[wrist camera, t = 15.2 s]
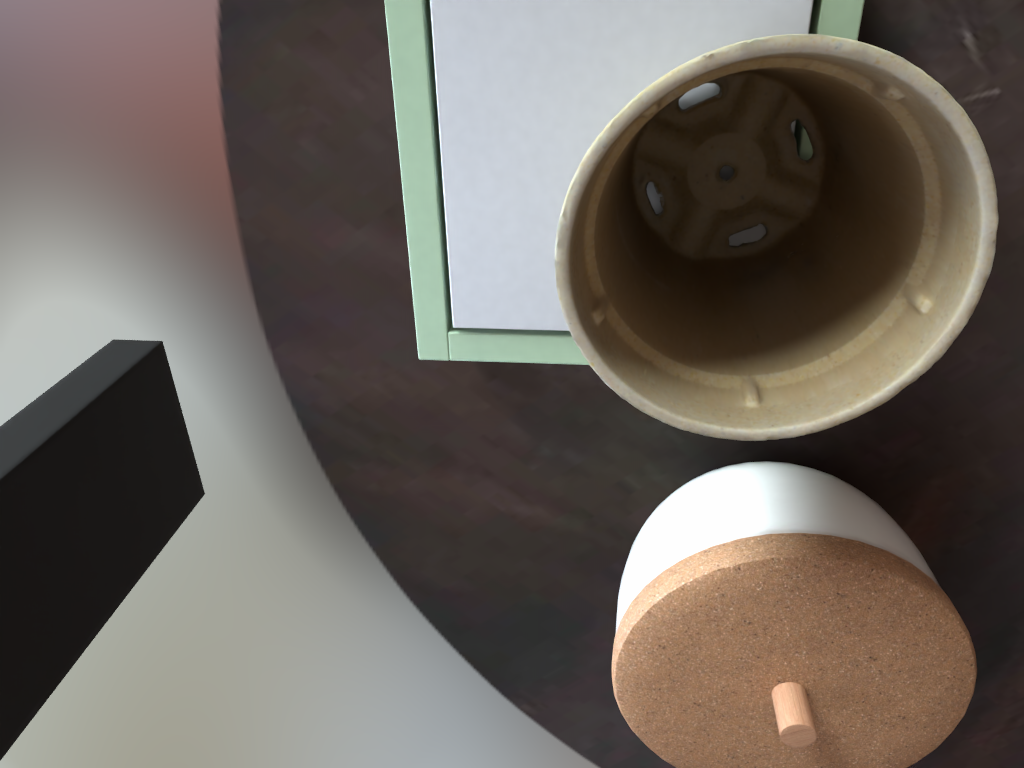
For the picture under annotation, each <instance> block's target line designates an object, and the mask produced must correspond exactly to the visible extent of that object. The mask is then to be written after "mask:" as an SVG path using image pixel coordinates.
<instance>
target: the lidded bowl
mask: <svg viewBox="0 0 1024 768" xmlns="http://www.w3.org/2000/svg"><path fill="white" fill-rule="evenodd" d="M976 677H977V665H976V653H975V650H974V647H973V644H972V640H971V637H970V634H969V632H968V630H967V628H966V626H965V624H964V622H963V620H962V618H961V617H960V615H959V613H958V612H957V610H956V609H955V607H954V605H953V604H952V602H951V600H950V599H949V597H948V596H947V594H946V593H945V592H944V591H943V590H942V588H941V587H940V585H939V583H938V581H937V580H936V578H935V576H934V575H933V573H932V571H931V569H930V568H929V566H928V564H927V563H926V561H925V559H924V558H923V556H922V554H921V553H920V551H919V550H918V549H917V547H916V546H915V545H914V543H913V542H912V541H911V539H910V538H909V537H908V535H907V534H906V533H905V532H904V531H903V529H902V528H901V527H900V526H899V525H898V524H897V523H896V522H895V521H894V520H893V519H892V518H891V517H890V516H889V515H888V514H887V513H886V512H885V511H884V509H883V508H882V507H881V506H880V505H879V504H877V503H876V502H875V501H873V500H872V499H871V498H869V497H868V496H867V495H865V494H864V493H863V492H861V491H859V490H858V489H856V488H855V487H853V486H852V485H850V484H848V483H846V482H844V481H842V480H840V479H839V478H837V477H835V476H833V475H830V474H827V473H824V472H821V471H819V470H816V469H813V468H809V467H805V466H800V465H796V464H791V463H784V462H770V461H762V462H746V463H741V464H735V465H730V466H726V467H722V468H719V469H716V470H713V471H710V472H707V473H705V474H703V475H701V476H699V477H697V478H695V479H693V480H691V481H689V482H688V483H686V484H685V485H683V486H682V487H680V488H679V489H677V490H676V491H675V492H673V493H672V494H671V495H670V496H669V497H668V498H667V499H665V500H664V501H663V502H662V503H661V504H660V505H659V506H658V507H657V508H656V509H655V511H654V512H653V513H652V514H651V516H650V517H649V518H648V519H647V521H646V522H645V524H644V525H643V527H642V528H641V530H640V532H639V534H638V536H637V537H636V539H635V541H634V543H633V545H632V548H631V551H630V554H629V557H628V560H627V563H626V566H625V569H624V572H623V576H622V580H621V586H620V591H619V597H618V608H617V622H616V635H615V638H614V646H613V657H612V681H613V689H614V695H615V698H616V701H617V703H618V706H619V709H620V712H621V713H622V715H623V717H624V718H625V720H626V721H627V723H628V725H629V726H630V728H631V729H632V730H633V732H634V733H635V734H636V735H637V736H638V737H639V738H640V739H641V740H642V741H643V743H644V744H645V745H646V746H647V747H649V748H650V749H651V750H652V751H653V752H655V753H656V754H657V755H658V756H659V757H661V758H662V759H663V760H665V761H667V762H668V763H670V764H672V765H673V766H675V767H677V768H907V767H909V766H910V765H912V764H914V763H916V762H917V761H919V760H920V759H922V758H923V757H925V756H926V755H927V754H929V753H930V752H932V751H933V750H935V749H936V748H937V747H938V746H939V745H940V744H941V743H942V742H943V741H944V740H945V739H946V738H947V737H948V736H949V735H950V734H951V733H952V731H953V730H954V729H955V727H956V726H957V725H958V723H959V722H960V720H961V719H962V718H963V716H964V715H965V712H966V710H967V707H968V705H969V703H970V700H971V698H972V696H973V693H974V688H975V682H976Z"/></svg>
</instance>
